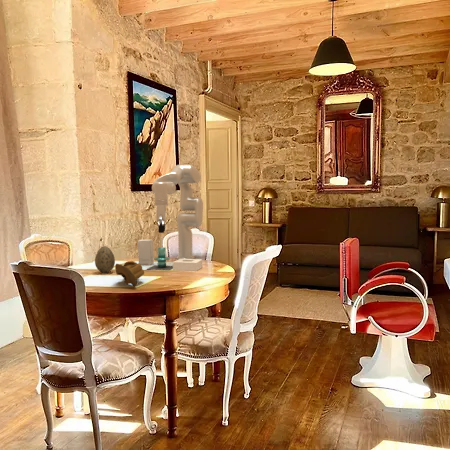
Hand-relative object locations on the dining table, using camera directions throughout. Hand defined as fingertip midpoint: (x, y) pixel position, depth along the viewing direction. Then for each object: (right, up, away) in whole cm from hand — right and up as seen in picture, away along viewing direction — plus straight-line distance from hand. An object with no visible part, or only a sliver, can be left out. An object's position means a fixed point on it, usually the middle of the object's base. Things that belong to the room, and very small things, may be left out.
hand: (161, 231), depth 255 cm
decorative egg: (-30, -23, -13) cm, 40 cm away
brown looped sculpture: (-9, -25, -43) cm, 51 cm away
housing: (+16, -22, -2) cm, 27 cm away
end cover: (0, -21, +1) cm, 21 cm away
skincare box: (-13, -21, +16) cm, 29 cm away
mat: (0, -22, +1) cm, 22 cm away
